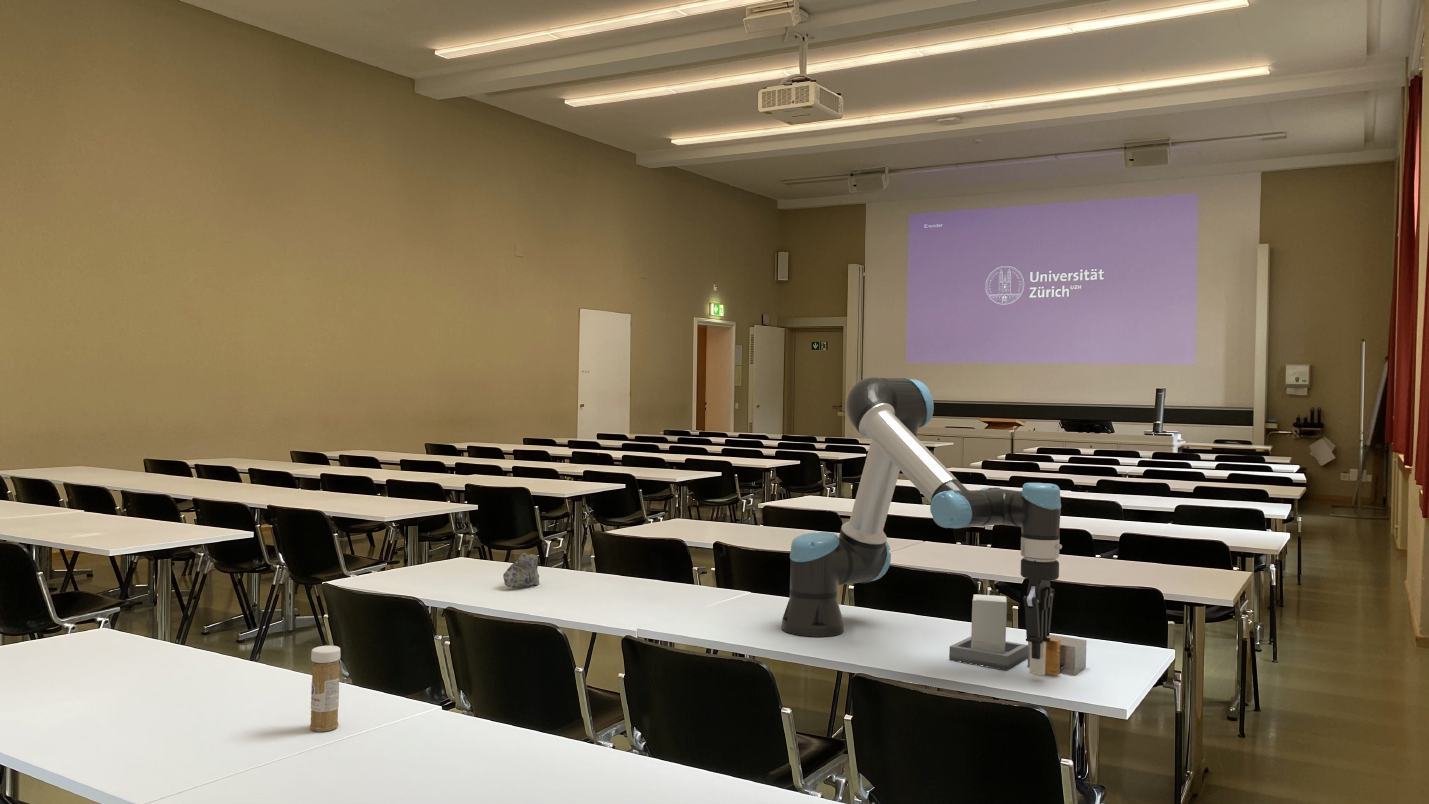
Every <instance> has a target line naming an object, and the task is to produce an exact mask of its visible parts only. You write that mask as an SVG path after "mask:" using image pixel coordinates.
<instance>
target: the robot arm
mask: <svg viewBox="0 0 1429 804" xmlns="http://www.w3.org/2000/svg"><path fill="white" fill-rule="evenodd" d="M845 409H846V414H847V416H848V419H849V421H850V423H851V425H852V426H853V427H854V428H855V430H856V431H857V432H858V433H859V434H860V435H861V436H862V437H864V438H866V439H871V440H870V443H869V446H868V452H867V455H866V458H865V463H864V466H863V469H862V473H861V477H860V482H859V484H858V487H857V488H858V489H857V491H856V495H855V499H854V503H853V507H852V511H851V515H850V517H849V520H848V521H847V522H844V523H843V524H842V525H841V528H840V531H839V536H838V535H837V533H834V532H829V531H827V532H825V531H822V532H811V533H810V532H809V533H804V534H801V535H798V536H796V537H794V538H793V539H792V542H791V544H790V545H791V546H790V553H789V559H790V565H789V567H790V571H789V573H790V574H789V599H788V602H787V605H786V606H785V607H786V608H785V610H784V614H783V616H782V618H781V630H783V632H786V633H788V634H792V635H795V636H796V635H797V636H803V637H817V638H819V637H821V638H822V637H832V636H833V637H834V636H838V635H841V634H842V633H844V631H845V630H844V620H843V615H842V613H841V608H840V605H839V602H838V586H839V585H840V586H841V585H850V584H858V583H860V584H867V583H871V582H874V581H877V580H879V579H881V578H882V577H883V576H884V575H886V573H887V572H888V569H889V568H890V565H891V560H892V559H891V558H892V553H891V552H890V550H891V548H890V544H889V543H888V541H887V540H888V537H887V535H886V533H885V532H884V528H885V524H886V522H887V517H888V514H889V510H890V506H891V503H892V500H893V495H894V493H895V489H896V485H897V482H898V477H899V474H900V472H902V474H903V475H904V477H906V478H907V479H908V480H909V481H910V482H911V484H913V486H915V488H917V490H918V491H919V492H920V493H921V494H922V495H923V496H924V498H926V499H927V501H929V503H930V507H929V508H930V509H929V510H930V514H931V515H932V516H931V517H932V519H933V521H934V522H935V524H936V525H937V526H939V527H941V528H943V529H944V528H945V529H948V528H949V529H962V528H972V527H984V526H986V527H987V526H999V525H1001V526H1003V525H1004V526H1012V527H1018V528H1021V530H1020V531H1021V537H1020V556H1021V557H1023V558H1021V559H1020V577H1022V578H1024V579H1028V581H1029V582H1028V586H1027V587H1026V595H1024V596H1023V598H1022V600H1023V605H1024V618H1025V632H1026V636H1025V637H1026V638H1025V641H1026V642H1028V641H1029V642H1030V668H1029V674H1034V675H1039V676H1044V675H1045V674H1046V673H1045V657H1046V642H1044V641H1047V642H1050V639H1051V638H1047V636H1049V635H1051V634H1050V633H1051V625H1052V623H1051V621H1052V611H1053V602H1054V601H1053V600H1054V597H1055V588H1052V587H1051V581H1056V580H1058V579H1059V577H1060V562H1059V561H1058V559H1059V558H1060V550H1062V548H1063V545H1062V544H1060V528H1061V526H1060V525H1061V511H1062V510H1061V508H1062V503H1061V502H1062V501H1061V488H1060V487H1059V486H1058V485H1057V484H1054V483H1045V482H1044V483H1043V482H1026V483H1024V484H1023V485H1022V490H1013V489H1005V488H1000V487H982V488H980V489H976V490H975V489H974V490H973V489H971V490H970V489H967V487H966V486H964V484H962V483H961V482H960V481H959V480H958V479H957V477H956V476H954V474H953V473H952V472H951V471H950V470H949V469H948V468H947V467H946V466H945V465H944V464H943V463H942V462H941V461H940V460H939V459H938V458H937V457H936V456H935V455H934V454H933V452H931V451H930V450H929V449H928V448H927V447H926V446H925V445H924V444H923V443H922V441H921V440H920V439H918V438H917V434H918V430H919V428H923V427H925V426H926V425H928V423H929V422H930V421H931V420H932V418H933V415H934V410H935V407H934V398H933V396H932V394H931V390H930V389H929V387H928V386H927V385H926V384H925V383H924V382H922V381H921V380H918V379H913V378H912V379H911V378H907V377H899V378H898V377H878V376H877V377H874V376H873V377H872V376H871V377H867V378H863V379H861V380H858V382H856V383H855V384H854V385H853V386H851V389H850V390H849V392H848V394H847V397H846V402H845Z"/></svg>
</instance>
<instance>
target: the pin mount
mask: <svg viewBox="0 0 1429 804" xmlns="http://www.w3.org/2000/svg"><path fill="white" fill-rule="evenodd" d="M1047 638H1052V639H1059V640H1060V654H1062V655H1063V667H1062V674H1063V675H1067V676H1068V675H1069V676H1077V675H1078V674H1079V673H1081V672H1083V670H1085V669H1086V667H1087V642H1088V641H1087V639H1083V638H1081V639H1080V638H1074V637H1070V636H1069V637H1068V636H1061V635H1054V634H1050V635H1049V636H1047ZM1027 645H1028V659H1027V668H1029V669H1030V642H1029V641H1027Z"/></svg>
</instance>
